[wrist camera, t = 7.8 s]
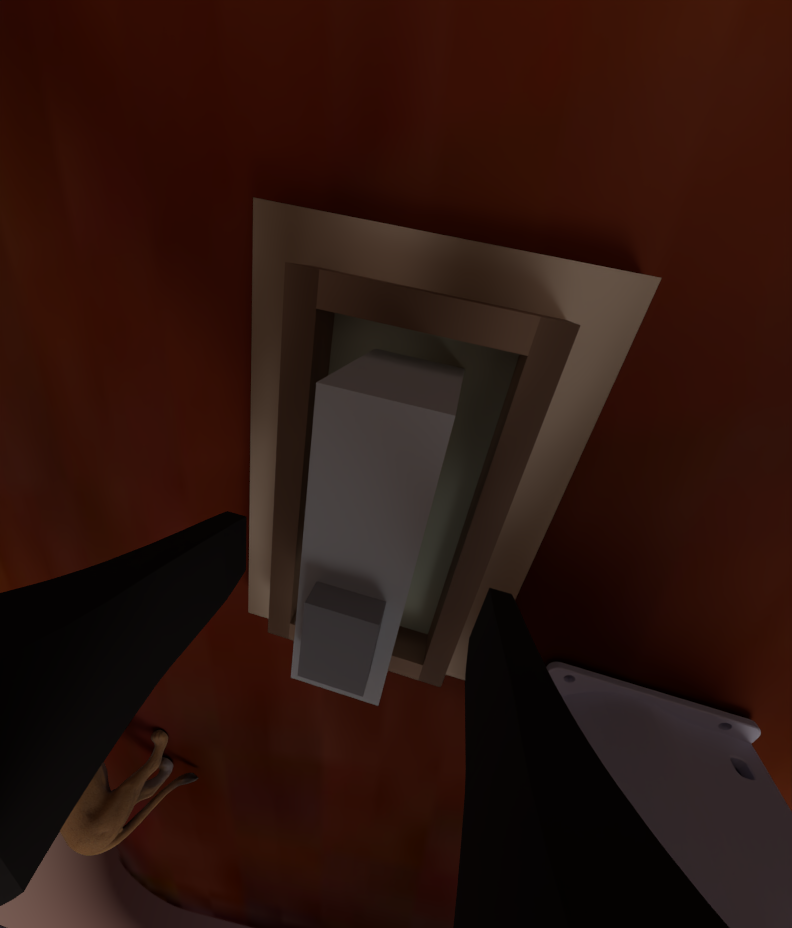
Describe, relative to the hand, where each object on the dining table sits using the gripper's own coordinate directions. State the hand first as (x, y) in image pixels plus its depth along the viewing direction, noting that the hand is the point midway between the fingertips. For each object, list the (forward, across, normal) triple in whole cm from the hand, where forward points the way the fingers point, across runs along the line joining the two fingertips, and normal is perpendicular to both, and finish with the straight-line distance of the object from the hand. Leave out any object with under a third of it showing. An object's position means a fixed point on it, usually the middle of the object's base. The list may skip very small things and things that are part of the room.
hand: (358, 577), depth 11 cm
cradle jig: (+6, 0, 0) cm, 6 cm away
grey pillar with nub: (+4, 0, -1) cm, 4 cm away
